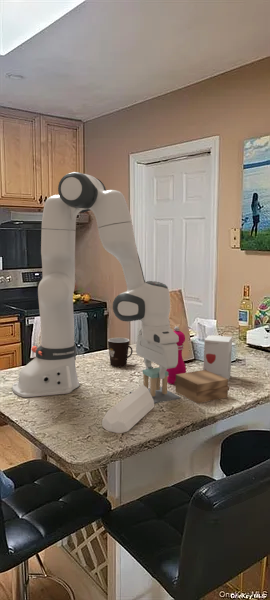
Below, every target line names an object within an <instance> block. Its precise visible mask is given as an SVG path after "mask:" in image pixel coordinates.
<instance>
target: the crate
mask: <svg viewBox="0 0 270 600" xmlns="http://www.w3.org/2000/svg"><path fill="white" fill-rule="evenodd" d="M174 386H175V393H176V394H178V395H180V396H182V397H184V398H186V399H188V400H189V401H192V402H193V403H196V404H200V403H206V402H211V401H215V400H220V399H221V400H222V399H225V398H226V399H227V398H228V396H229V395H228V393H229V392H228V391H230V386H229V380H228V379H226V378H224V377H222V376H219V375H217V374H214V373H212V372H210V371H207V370H202V369H201V370H196V371H188V372H186V373H182V374H176V381H175V385H174Z"/></svg>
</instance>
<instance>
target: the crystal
mask: <svg viewBox="0 0 270 600" xmlns="http://www.w3.org/2000/svg"><path fill="white" fill-rule="evenodd" d="M148 389H149V387H148V388H147V387H146V386H144V385H143V384H142V385H140V386H138V387H137V388H136V389H135V390H133V392H132V391H131V392H132V393H131V394H130V393H129V394H128V395H127V396H126V397H124V398H123V399H122V400H120V401H119V402H117V404H115V405H114V406H112V407H111V408H110V409H108V410H107V411H106V412H105V415H104V416H103V418H102V420H101V421H102V422H101V423H102V424H101V428H103V429H105V430H106V431H107V432H109V433H110V432H111V433H117V434H122V433H123V434H124V433H126V432H129V431H130V430H131V429H132V428H133V427H134V426H135V425H136V424H137V423H139V422H140V420H142V419H143V417H145V416H146V415H147V414H148V413H149V412H150V411H152V409H153V408H155V403H154V400H153V398H152V396H151V394H150V392H149V390H148Z"/></svg>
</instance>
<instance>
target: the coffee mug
mask: <svg viewBox="0 0 270 600" xmlns="http://www.w3.org/2000/svg"><path fill="white" fill-rule="evenodd" d="M107 345H108V346H107V348H108V353H109V354H108V355H109V363H110V366H112V367H116V368H117V367H118V368H121V367H126V366H127V365H128V364H127V362H128V359H129V358H130V357H131V356H132V355H133V352H134V351H133V348H132V346H131V345H130V339H129V338H127V337H111V338H108V339H107ZM129 349H130V354H129Z"/></svg>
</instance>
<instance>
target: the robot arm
mask: <svg viewBox="0 0 270 600" xmlns="http://www.w3.org/2000/svg"><path fill="white" fill-rule="evenodd" d="M57 193H58V194H53V195H51V196H49V197H48V198H46V200H45V201H44V206H43V211H42V219H41V233H40V234H41V235H40V237H41V239H40V240H41V241H40V245H41V246H40V255H41V268H42V270H41V271H42V278H41V280H40V281H39V283H38V287H37V296H38V297H37V298H38V309H39V318H40V330H41V331H40V336H41V337H40V341H41V343H40V345H39V346H38V347H37V346H36V345H33V346H32V347H31V352H33V353H35V357H33V359H32V360H31V361H29V362H28V363H27V364H26V365H24V366H23V367H22V368H21V369H20V371H19V374H18V381H16V382H14V383H12V385H11V390H12V392H13V393H14V394H15V395H17V396H19V397H23V398H31V397H33V398H34V397H40V396H41V397H43V396H53V395H55V396H56V395H64V394H70V393H72V392H73V390H75V389H77V388H78V387H80V385H81V384H80V382H79V381H80V380H79V378H78V372H77V368H76V360H77V358H76V357H77V347H76V344H75V317H74V316H75V315H74V292H75V288H76V287H75V286H76V228H77V227H76V226H77V225H76V224H77V218H78V215H79V213H82V214H83V213H86V212H89V211H91V212H92V213H93V215H94V217H95V221H96V226H97V231H98V237H99V240H100V242H101V245H102V248H103V249H104V250H105V251H106V252H107V253H109V254H110V255H111V256H113V257H115V259H117V261H118V262H119V264H120V265H121V269H122V272H123V276H124V280H125V284H126V291H123V292H121V293H119V294H118V295H116V297H115V298H114V299H113V302H112V312H113V315H114V316H115V317H116V318H117V319H118V320H120V321H122V322H127V323H128V322H129V323H130V322H134V321H135V322H136V321H141V328H140V330H139V331H138V334H137V336H136V345H135V353H136V355H137V356H139V357H140V358H143V362H144V365H145V369H152V368H154V367H153V366H152V363H153V364H157V365H158V366H159V368H160V371H159V372H158V378H160V380H162V379H164V378H165V372H166V370H167V369H169V368H175V367H176V366H177V364H178V346H177V344H176V342H178V341H179V337H178V335H177V334H176V333H175V332H174V331H175V330H174V329H172V328H171V327H170V326H171V321H170V313H171V294H170V289H169V287H168V286H167V285H166V284H164V283H163V282H159V281H155V280H154V281H152V280H148V281H145V275H144V272H143V268H142V263H141V260H140V257H139V252H138V248H137V244H136V238H135V231H134V226H133V221H132V216H131V213H130V208H129V205H128V203H127V200H126V198H125V194H123V193H122V191H120V190H116V189H107V188H106V186H105V184H104V182H102V181H101V180H100V179H98V178H97V177H94V176H93V175H90V174H88V173H82V172H78V171H73V172H69V173H66V174H65V175H64V176H63V177H62V178H60V181H59V182H58V186H57Z"/></svg>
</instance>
